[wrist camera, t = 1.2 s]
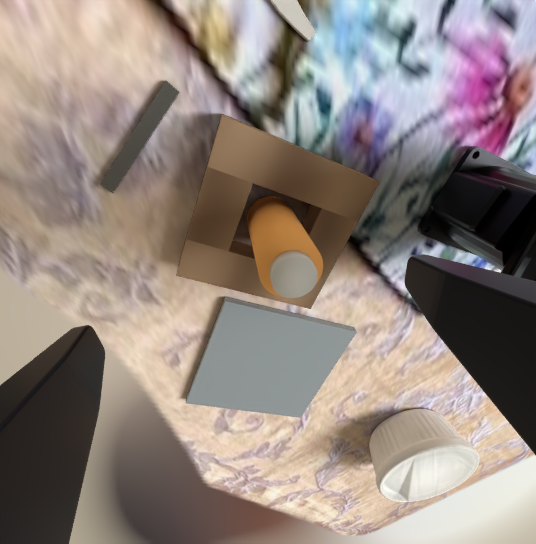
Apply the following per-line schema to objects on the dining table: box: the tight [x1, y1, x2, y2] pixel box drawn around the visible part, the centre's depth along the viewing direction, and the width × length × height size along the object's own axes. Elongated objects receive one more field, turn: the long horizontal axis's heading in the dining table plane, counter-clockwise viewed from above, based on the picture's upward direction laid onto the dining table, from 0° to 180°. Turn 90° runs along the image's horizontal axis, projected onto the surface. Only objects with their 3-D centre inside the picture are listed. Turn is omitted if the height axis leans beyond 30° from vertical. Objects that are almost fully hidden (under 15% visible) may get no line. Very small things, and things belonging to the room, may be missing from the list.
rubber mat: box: [186, 297, 356, 418], centre depth 28 cm, size 12×12×1 cm
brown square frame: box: [176, 114, 379, 309], centre depth 20 cm, size 10×10×2 cm
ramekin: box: [369, 409, 480, 502], centre depth 35 cm, size 11×11×5 cm
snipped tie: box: [100, 81, 180, 193], centre depth 17 cm, size 7×1×1 cm, turn 139°
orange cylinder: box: [247, 196, 323, 298], centre depth 17 cm, size 3×3×8 cm
